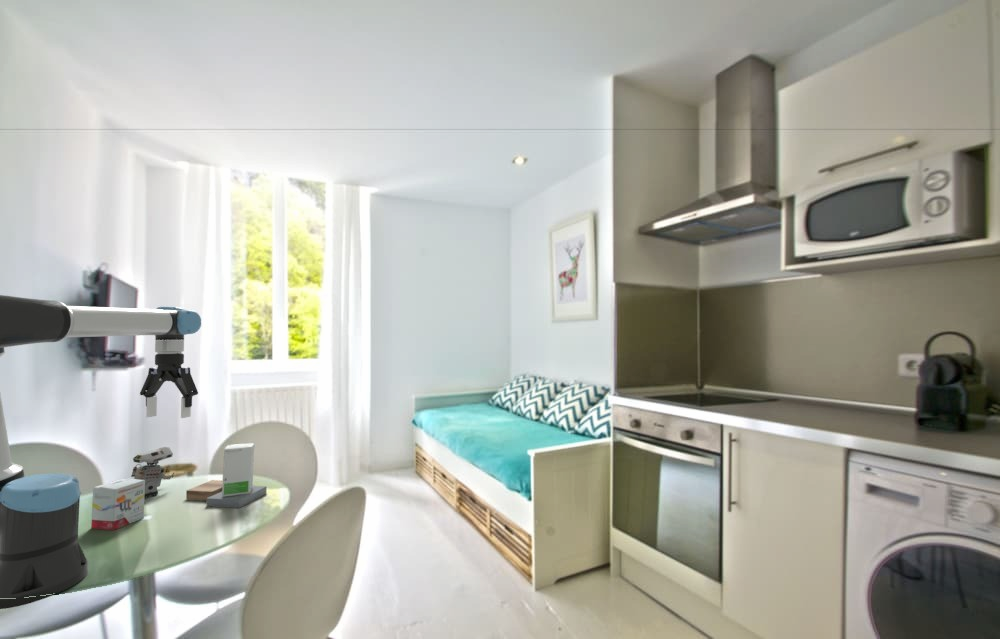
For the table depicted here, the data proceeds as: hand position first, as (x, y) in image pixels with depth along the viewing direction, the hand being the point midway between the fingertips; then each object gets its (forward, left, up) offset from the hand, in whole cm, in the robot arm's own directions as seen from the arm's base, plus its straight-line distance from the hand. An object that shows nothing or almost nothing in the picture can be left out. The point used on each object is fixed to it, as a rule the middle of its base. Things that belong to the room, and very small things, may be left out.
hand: (168, 417), depth 134 cm
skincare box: (+7, -21, -26) cm, 34 cm away
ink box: (-13, +2, -29) cm, 32 cm away
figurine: (+9, +16, -29) cm, 34 cm away
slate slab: (+7, -20, -29) cm, 36 cm away
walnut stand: (+10, -7, -29) cm, 31 cm away
